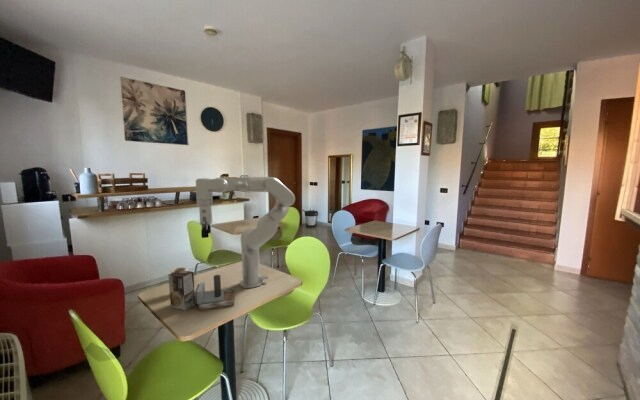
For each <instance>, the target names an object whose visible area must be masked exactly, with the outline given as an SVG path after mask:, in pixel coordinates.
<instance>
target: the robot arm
mask: <svg viewBox="0 0 640 400" xmlns="http://www.w3.org/2000/svg"><path fill="white" fill-rule="evenodd" d="M195 192H196V195H195V196H196V207H198V209H199V223H200V226H201V230H200V231H201V232H200V233H201V234H200V236H201V239H205V238H209V235H210V234H211V231H212V229H211V225H212V223H213V213H212V206H214V204H213V203H214V202H213V201H214V199H213V193H224V192H240V193H269V194H270V195H271V196H273V197H274V198H275V204H274V206H273V208H271V209H270V210H269V211H268V212H267V213H266V214H264V215H262V217H261V218H260V219H258V221H257V223H256V227H255V228H251V227H250V228H249V227H248V228H245V229H244V230H243V231H242V233H241V235H240V247H241V270H242V271H241V274H242V275H241V277H242V280H240V281H239V286H240V287H242V288H245V289H253V288H257V287H259V286H261V285H262V284H264V281H265V280H269V276H268V275H266V274H263V275H262V274H261V270H260V269H261V268H260V266H261V265H260V264H261V263H260V248H261V247H262V246H263V245H264V244H266V243H267V242H268V241H269V240H270V239H271V238H273V236H275V234H276V233H277V232H278V228H279V227H278V226H279V225H278V224H279V223H281V222H282V221H283V219H284V218H286V216H287V214H288V212H289V210H290V207H291V206H293V205H294V204H295V201H296V196H295V194H294V193H293V192H292V190H290V189H289V188H288V187H287V186H286V185H285V184H283V183H282V181H280V180H279V179H278V178H276V177H274V176H242V177H241V176H240V177H216V178H206V177H205V178H204V177H203V178H197V179H196V180H195Z"/></svg>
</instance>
